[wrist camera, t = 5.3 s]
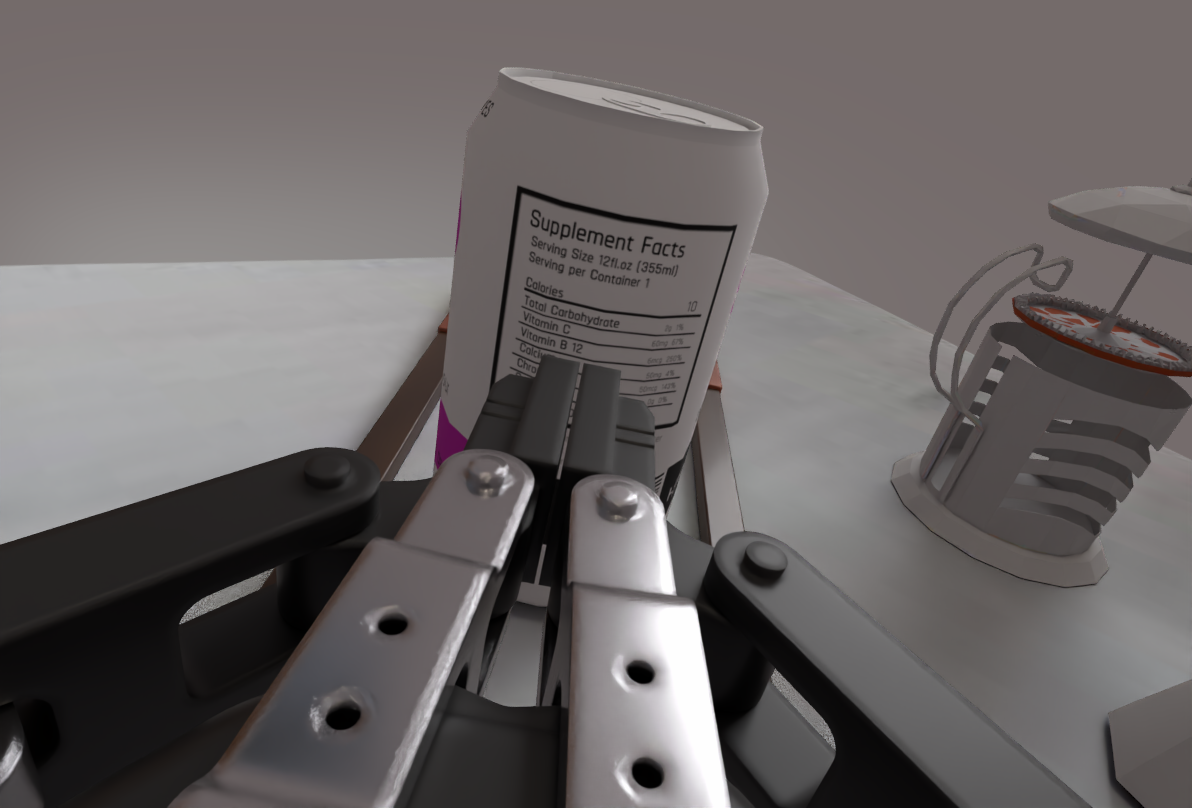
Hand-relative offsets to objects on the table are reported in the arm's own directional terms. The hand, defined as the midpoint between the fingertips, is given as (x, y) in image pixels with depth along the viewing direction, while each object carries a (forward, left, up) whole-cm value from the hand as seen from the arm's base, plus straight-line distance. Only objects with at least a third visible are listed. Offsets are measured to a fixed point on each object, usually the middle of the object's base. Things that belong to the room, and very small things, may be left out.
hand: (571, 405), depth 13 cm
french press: (+20, +16, -10) cm, 28 cm away
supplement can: (0, +8, -10) cm, 13 cm away
